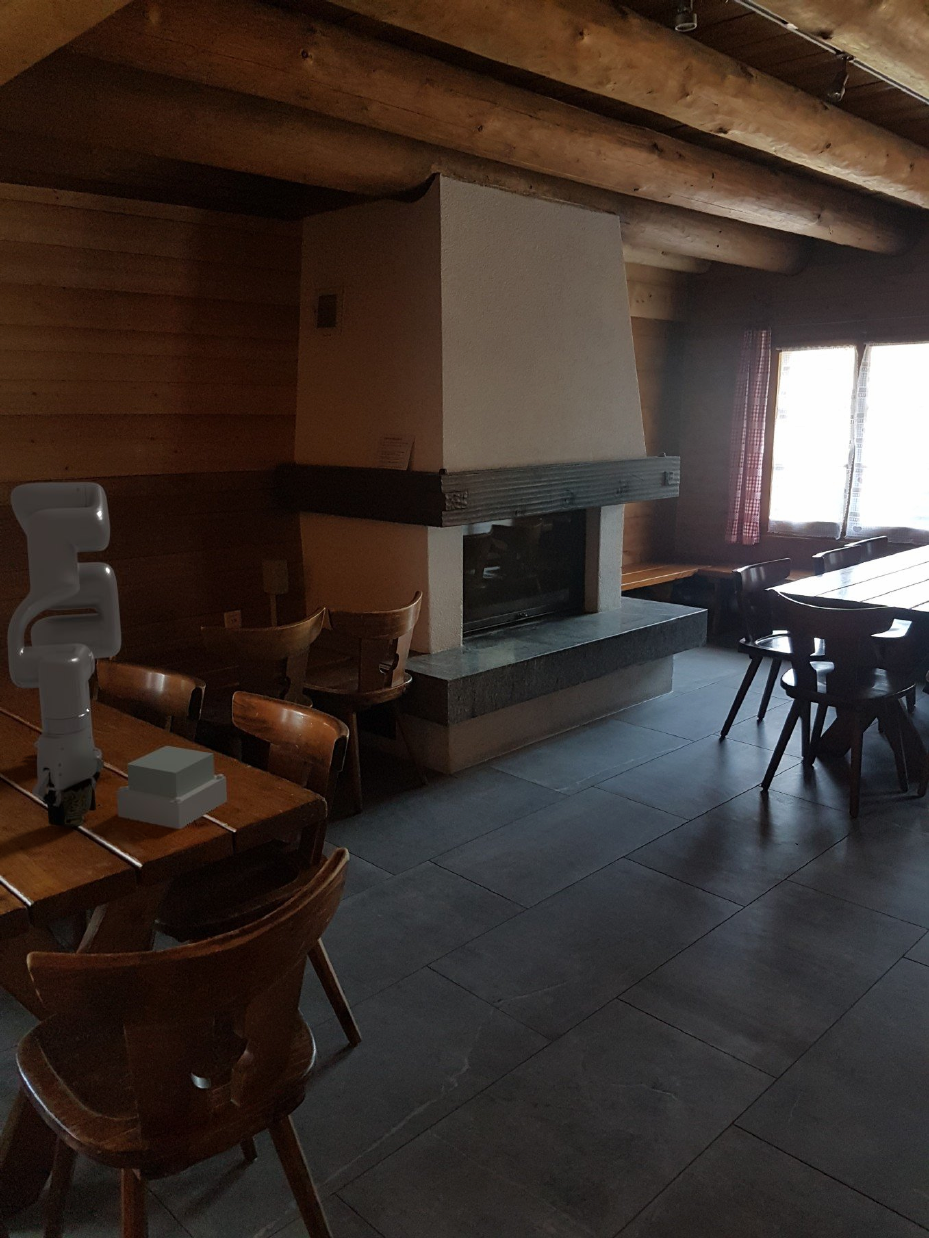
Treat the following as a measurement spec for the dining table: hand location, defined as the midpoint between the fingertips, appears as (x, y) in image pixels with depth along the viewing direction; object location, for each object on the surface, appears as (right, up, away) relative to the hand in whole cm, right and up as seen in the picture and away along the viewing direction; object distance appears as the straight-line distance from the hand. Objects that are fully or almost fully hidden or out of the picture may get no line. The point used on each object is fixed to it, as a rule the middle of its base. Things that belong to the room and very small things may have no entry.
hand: (72, 816), depth 177 cm
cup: (0, -2, 0) cm, 2 cm away
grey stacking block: (+16, 0, +8) cm, 18 cm away
